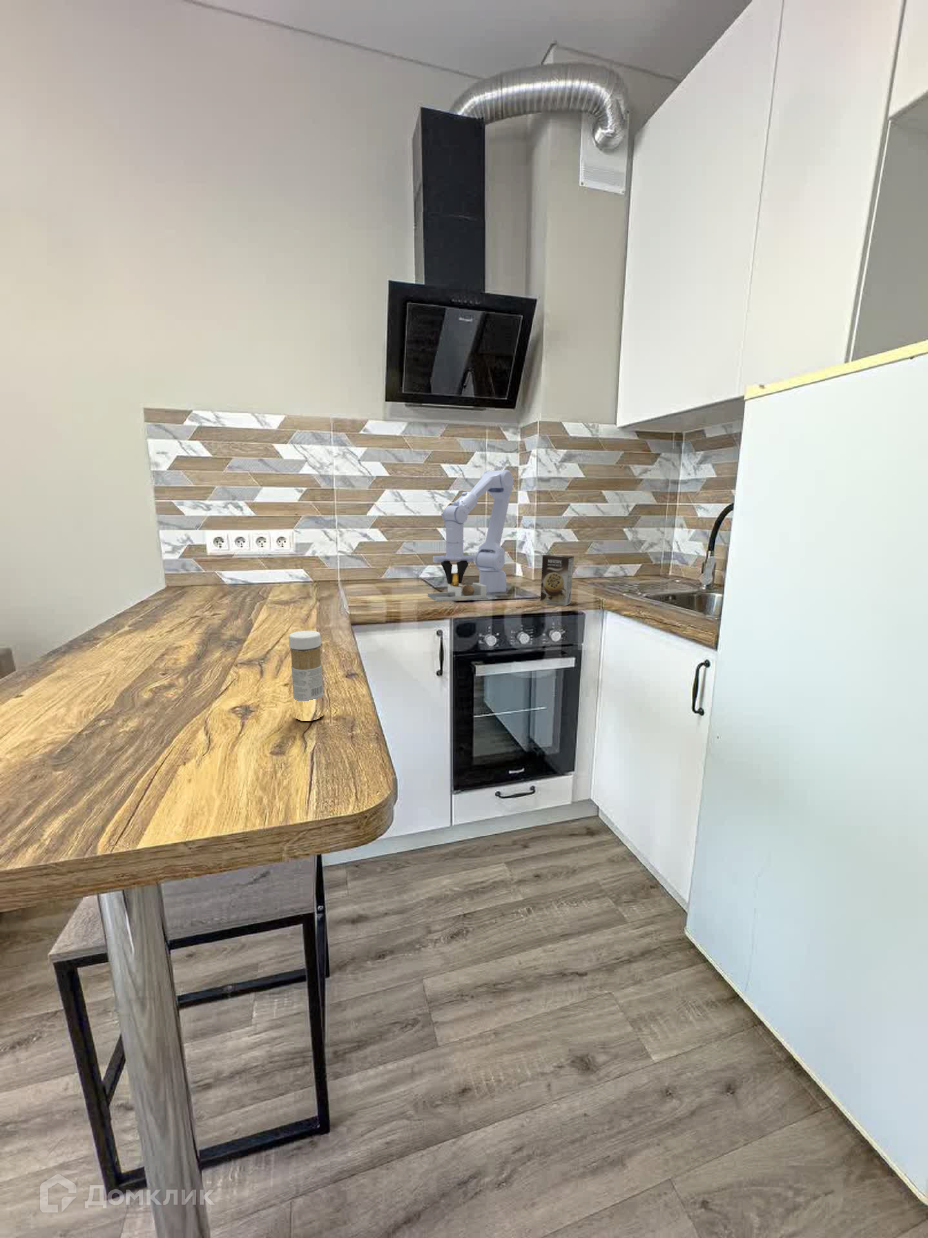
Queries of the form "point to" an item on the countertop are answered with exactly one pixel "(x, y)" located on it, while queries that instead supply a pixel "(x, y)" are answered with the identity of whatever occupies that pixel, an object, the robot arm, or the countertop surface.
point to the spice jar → (306, 665)
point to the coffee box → (556, 579)
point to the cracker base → (478, 594)
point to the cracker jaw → (454, 586)
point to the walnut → (468, 590)
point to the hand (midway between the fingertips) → (454, 583)
